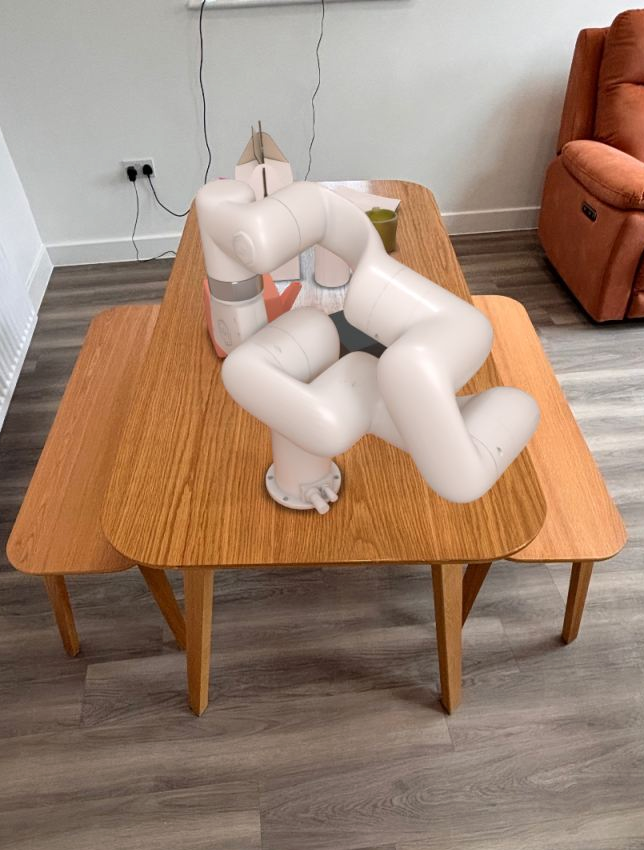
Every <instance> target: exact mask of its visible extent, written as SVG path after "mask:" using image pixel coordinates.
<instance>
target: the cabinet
mask: <svg viewBox="0 0 644 850" xmlns="http://www.w3.org/2000/svg"><path fill="white" fill-rule="evenodd" d="M327 315H328V316H329V317H330V318H331V320H332V321H333V323H334V324H335V326H336V329H337V331H338V335H339V340H340V354H339V360H340V359H341V358H342V357H344V356H345V355H347V354H349V353H352V352H356V351H362V352H366V353H368V354H371V355H373V356H375V357H377V358H378V359H380V357H381V355H382V354H383V353H384V351H385V350H386V349H387V347H386V346H384V345H383V344H381V343H380V342H378V341H377V340H375V339H373V338H372V337H370V336H368V335H367V334H365V333H364V332H362V331H361V330H359V329H357V328H356V327H354V326H352V325H351V324H350V323H349V322H348V321H347V319H346V318H345V315H344V311H343V309H341V310H338V311H335V312H332V313H328V314H327Z"/></svg>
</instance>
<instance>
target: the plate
mask: <svg viewBox="0 0 644 850" xmlns="http://www.w3.org/2000/svg"><path fill="white" fill-rule="evenodd" d="M333 191H334V192H336V193H338V194H340V195H341V196H343V197H345V198H347V199H348V200H350V201H352V202H353V203H355V204H356V205H357V206H358V207H360V208H361V209H362V210H363V211H364V212H366V211H369V210H372V208H373V207H380V209H389V210H393V211H394V212H396V211H397V209H398V207H399V206H400V204H401V203H402V200H401V199H399V198H393V197H386V196H381V195H378V194H373V193H368V192H364V191H360V190H357V189H354V188H350V187H347V186H344V185H340V186H338V187H337V188H336V189H334V190H333Z"/></svg>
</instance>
